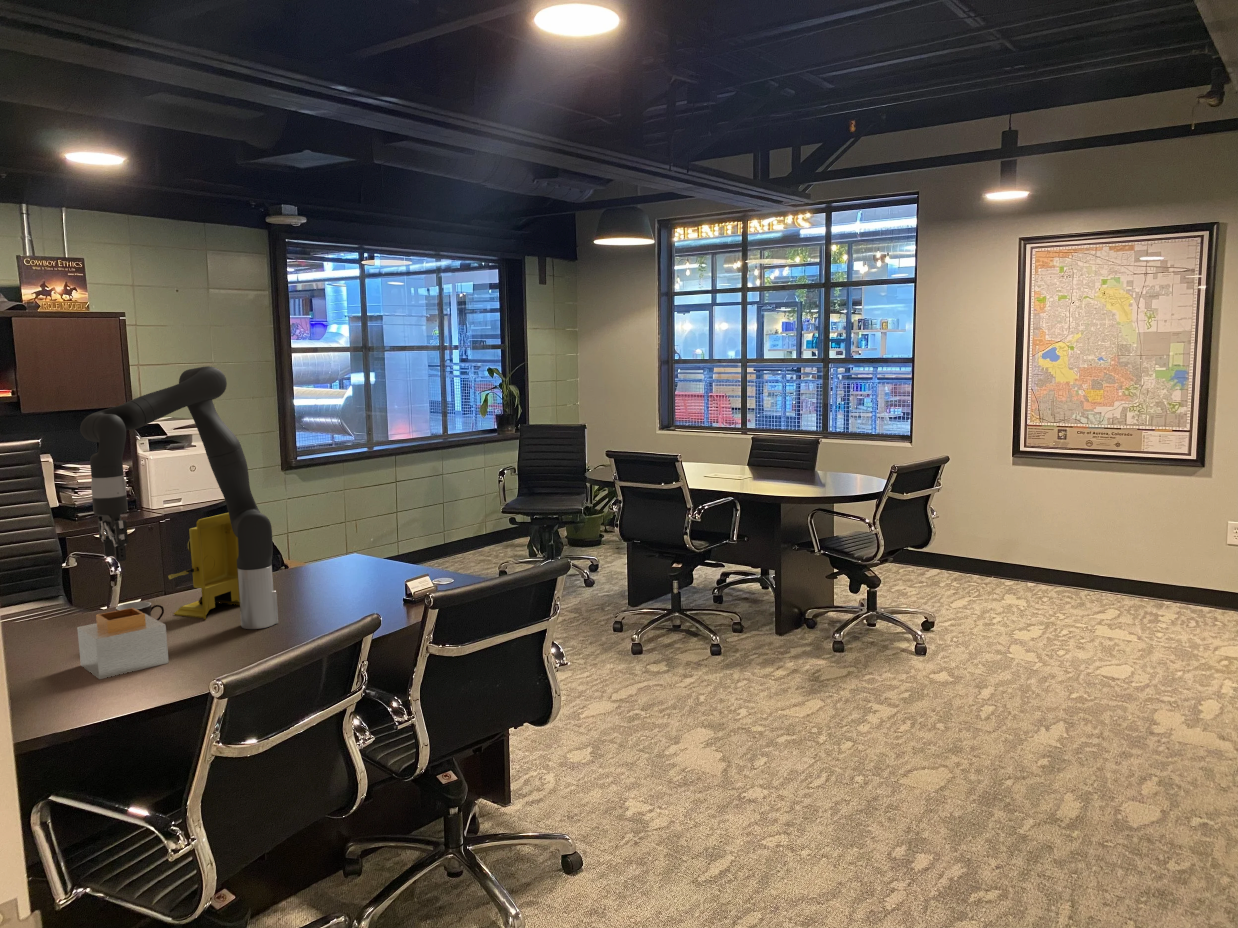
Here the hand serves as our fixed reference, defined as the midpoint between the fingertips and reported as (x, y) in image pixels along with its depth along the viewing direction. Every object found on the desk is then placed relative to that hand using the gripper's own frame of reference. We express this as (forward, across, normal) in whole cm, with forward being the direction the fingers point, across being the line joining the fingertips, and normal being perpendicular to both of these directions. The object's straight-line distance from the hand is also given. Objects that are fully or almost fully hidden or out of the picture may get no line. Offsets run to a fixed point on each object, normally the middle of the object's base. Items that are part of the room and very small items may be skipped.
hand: (115, 558), depth 231 cm
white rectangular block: (+27, 0, 0) cm, 27 cm away
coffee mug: (+28, +18, -10) cm, 34 cm away
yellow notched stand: (+28, +35, -36) cm, 57 cm away
